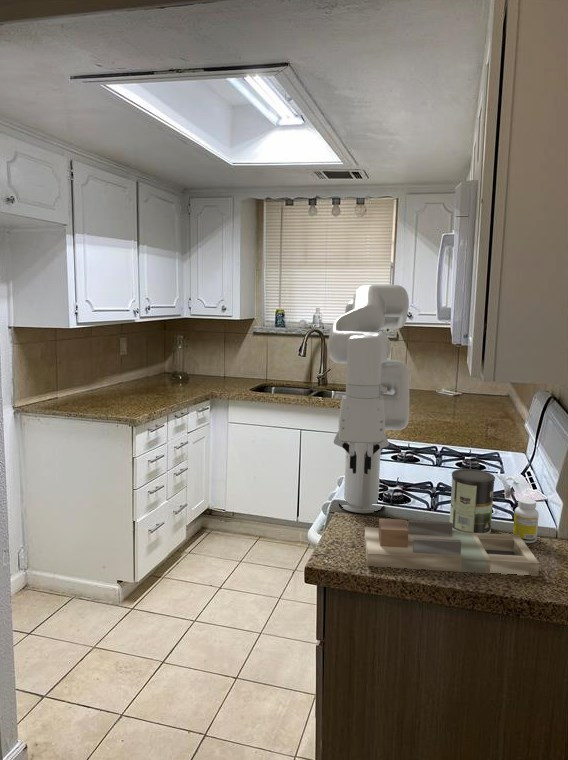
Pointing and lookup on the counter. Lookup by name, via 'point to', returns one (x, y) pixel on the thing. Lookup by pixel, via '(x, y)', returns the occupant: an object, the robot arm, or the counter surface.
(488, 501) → the coffee can
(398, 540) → the walnut block
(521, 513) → the supplement bottle
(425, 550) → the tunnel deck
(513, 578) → the counter surface
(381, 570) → the counter surface
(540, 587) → the counter surface
